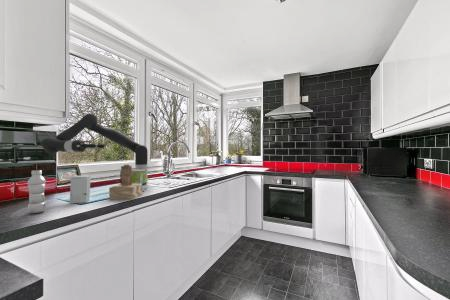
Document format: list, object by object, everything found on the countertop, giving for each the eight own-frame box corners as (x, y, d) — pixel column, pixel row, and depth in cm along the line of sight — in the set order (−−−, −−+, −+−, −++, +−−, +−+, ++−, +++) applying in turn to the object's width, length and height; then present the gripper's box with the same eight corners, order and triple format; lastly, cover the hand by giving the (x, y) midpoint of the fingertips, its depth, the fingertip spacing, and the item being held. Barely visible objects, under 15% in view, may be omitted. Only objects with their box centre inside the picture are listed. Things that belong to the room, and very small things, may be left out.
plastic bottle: (44, 209, 100) (44, 169, 100) (47, 212, 96) (47, 170, 96) (26, 213, 95) (26, 170, 95) (28, 216, 91) (28, 171, 91)
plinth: (121, 194, 135) (121, 183, 135) (142, 194, 135) (142, 183, 135) (109, 199, 121) (109, 187, 121) (132, 199, 121) (132, 187, 121)
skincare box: (69, 203, 112) (69, 176, 111) (74, 201, 117) (73, 175, 117) (87, 202, 114) (87, 176, 114) (90, 200, 120) (90, 174, 120)
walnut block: (124, 184, 130) (124, 164, 130) (131, 184, 130) (131, 164, 130) (121, 185, 126) (121, 165, 126) (128, 185, 126) (128, 165, 126)
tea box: (146, 189, 153) (146, 169, 153) (140, 191, 143) (139, 170, 143) (127, 188, 154) (127, 169, 154) (119, 191, 144) (119, 170, 144)
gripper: (66, 139, 124) (92, 139, 123) (83, 140, 138) (106, 140, 138) (66, 152, 124) (92, 152, 123) (83, 151, 138) (106, 151, 138)
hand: (100, 146), depth 130 cm, fingers open, 8 cm apart
